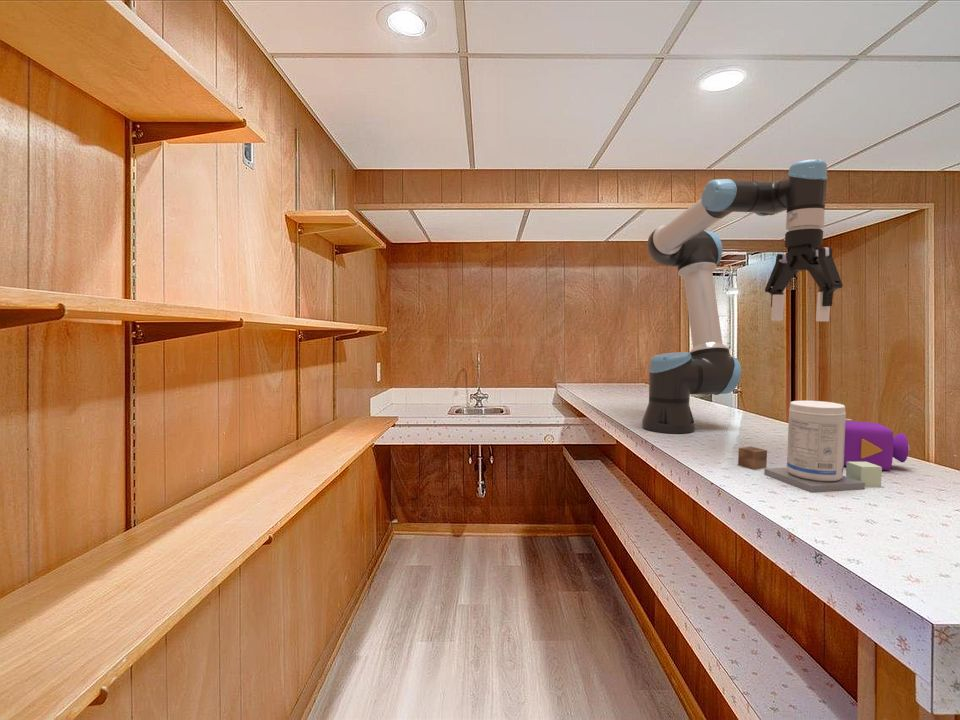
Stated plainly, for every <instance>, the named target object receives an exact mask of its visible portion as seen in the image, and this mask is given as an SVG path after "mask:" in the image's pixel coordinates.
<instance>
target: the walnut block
mask: <svg viewBox="0 0 960 720" xmlns="http://www.w3.org/2000/svg"><path fill="white" fill-rule="evenodd" d="M737 456H738V458H737V459H738V460H737V466H740V467H744V468H747V469H750V470H753V471H755V470H761V469H767V459H768V458H767V457H768V450H767V449H763V448H759V447H754V446H750V445H749V446H745V447H744V446H742V447H739V448H738V455H737Z"/></svg>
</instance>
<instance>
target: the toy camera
mask: <svg viewBox="0 0 960 720" xmlns="http://www.w3.org/2000/svg"><path fill="white" fill-rule="evenodd" d="M909 452H910V445H909V439H908V437H907V436H906V434H905V433H903V432H901V433H898V434H896V435H895V434H894V433H893V430H892V429H891V428H889V427H887V426H885V425H883V424H880V423H877V422H870V421H869V422H868V421H856V420H855V421H854V420H853V419H851V418H846V424H845V444H844V466H843V467H847V462H869V463H872V464H875V465H878V466H881V467H882V471H888V470H890V469H891V468H892V466H893V459H895V460H897V461H898V462H900V463H905V461H907V459H908V456H909Z"/></svg>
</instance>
